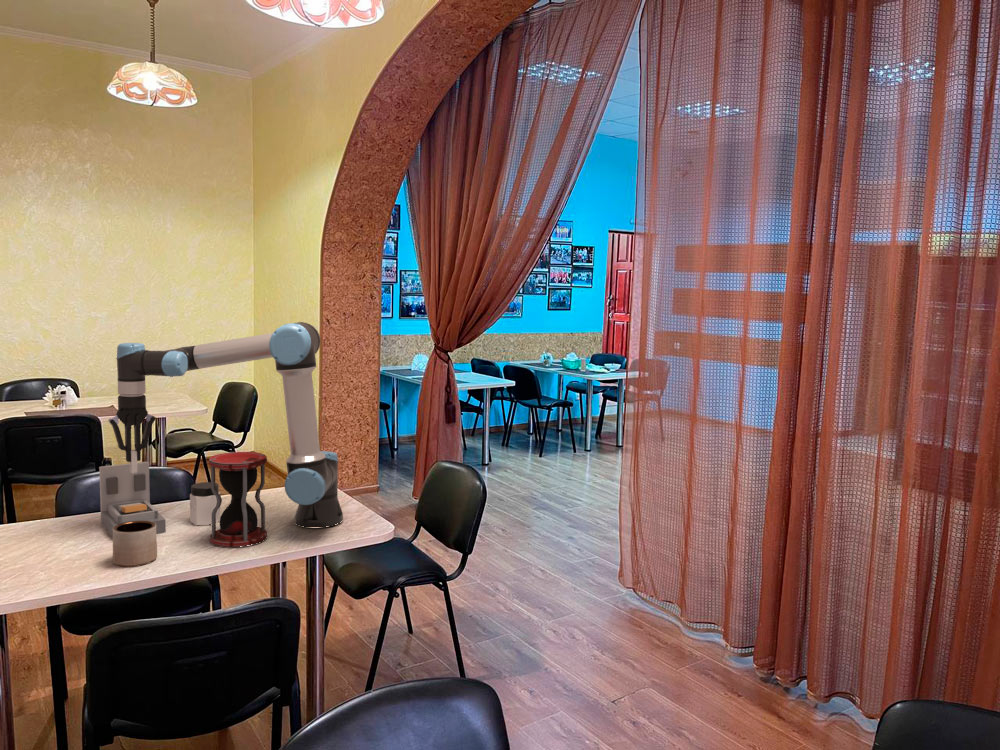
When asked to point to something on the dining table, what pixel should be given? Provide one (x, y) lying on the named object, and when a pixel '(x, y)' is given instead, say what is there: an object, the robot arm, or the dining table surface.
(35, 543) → the dining table surface
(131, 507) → the rocker switch
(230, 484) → the hourglass
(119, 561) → the planter
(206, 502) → the jar
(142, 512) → the grey fixture stand
